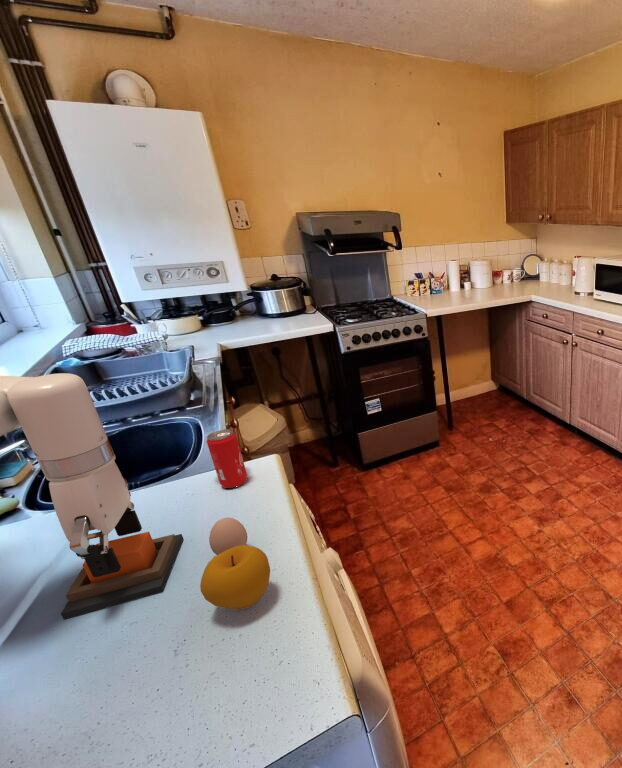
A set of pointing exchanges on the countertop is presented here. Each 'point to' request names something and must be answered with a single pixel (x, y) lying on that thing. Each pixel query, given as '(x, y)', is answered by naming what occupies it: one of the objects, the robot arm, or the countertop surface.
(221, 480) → the beverage can
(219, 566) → the apple
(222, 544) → the egg
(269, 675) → the countertop surface
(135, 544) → the orange block
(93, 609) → the brown wooden tray
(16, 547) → the countertop surface
